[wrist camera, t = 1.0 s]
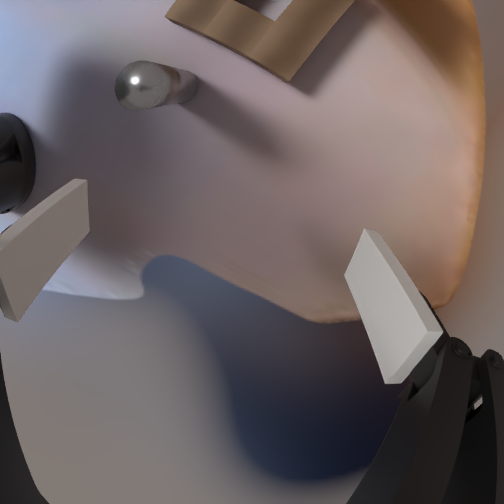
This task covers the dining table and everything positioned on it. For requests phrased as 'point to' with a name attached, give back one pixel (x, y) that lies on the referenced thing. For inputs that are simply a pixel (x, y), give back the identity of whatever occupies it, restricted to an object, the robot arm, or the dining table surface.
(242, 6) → the socket block
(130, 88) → the peg
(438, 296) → the dining table surface
